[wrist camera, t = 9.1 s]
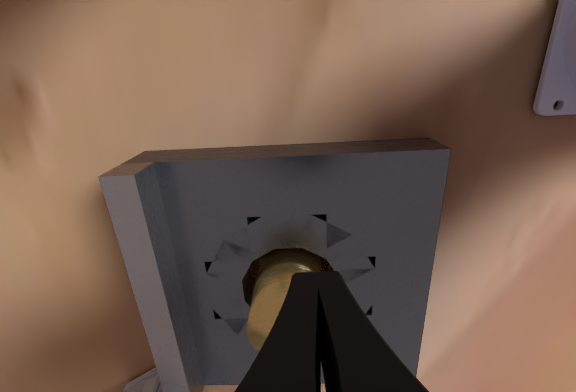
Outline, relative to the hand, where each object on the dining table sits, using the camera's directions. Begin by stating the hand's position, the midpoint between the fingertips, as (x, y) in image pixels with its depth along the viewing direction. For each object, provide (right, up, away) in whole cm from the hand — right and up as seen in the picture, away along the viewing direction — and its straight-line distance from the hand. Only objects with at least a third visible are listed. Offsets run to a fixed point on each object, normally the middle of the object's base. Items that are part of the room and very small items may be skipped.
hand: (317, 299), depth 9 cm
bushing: (-1, -1, +11) cm, 11 cm away
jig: (-1, -1, +11) cm, 11 cm away
